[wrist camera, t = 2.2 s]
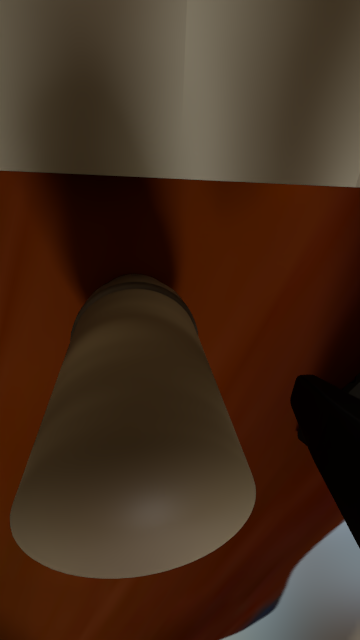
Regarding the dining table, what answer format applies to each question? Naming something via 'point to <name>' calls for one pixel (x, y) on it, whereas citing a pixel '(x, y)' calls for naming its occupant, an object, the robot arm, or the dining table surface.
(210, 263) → the dining table surface
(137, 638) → the dining table surface
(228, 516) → the oak peg
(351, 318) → the dining table surface
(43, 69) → the birch board
